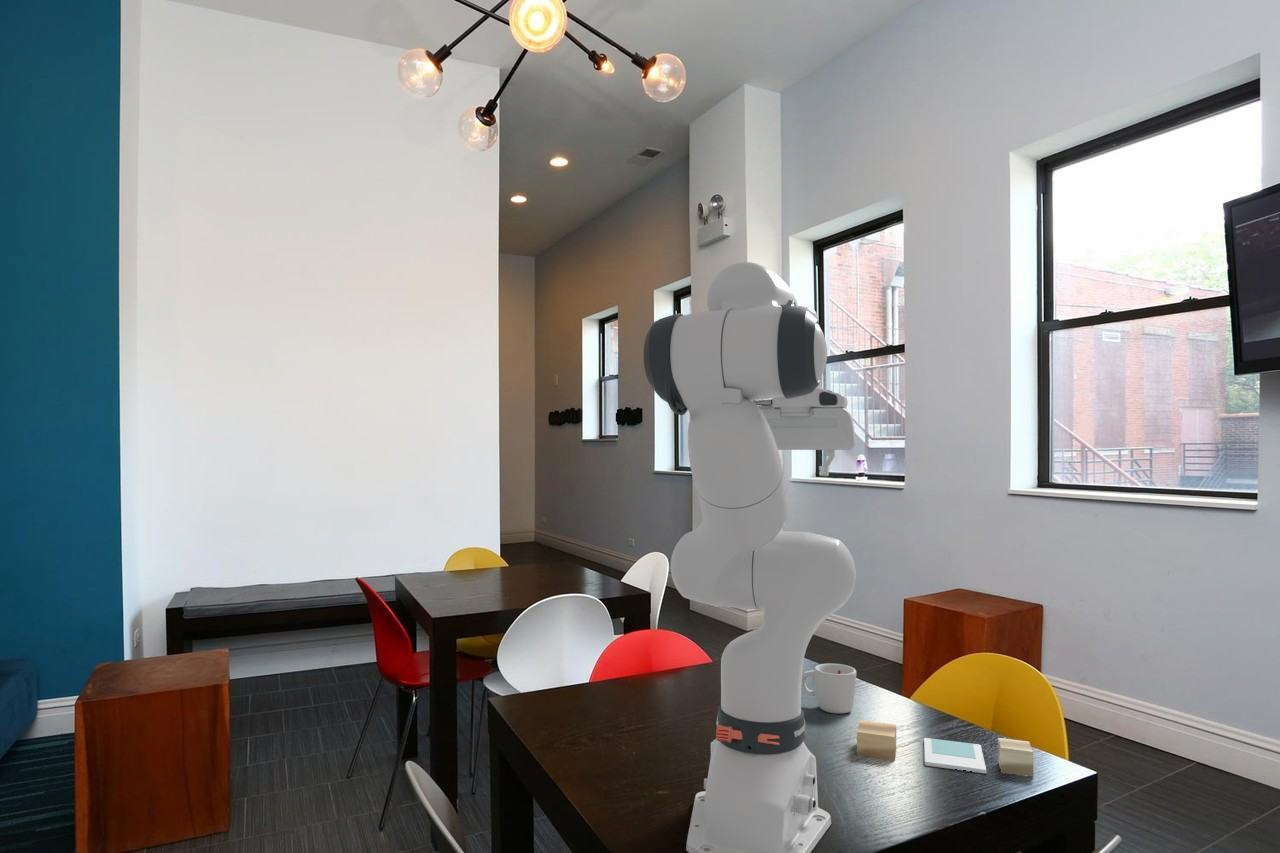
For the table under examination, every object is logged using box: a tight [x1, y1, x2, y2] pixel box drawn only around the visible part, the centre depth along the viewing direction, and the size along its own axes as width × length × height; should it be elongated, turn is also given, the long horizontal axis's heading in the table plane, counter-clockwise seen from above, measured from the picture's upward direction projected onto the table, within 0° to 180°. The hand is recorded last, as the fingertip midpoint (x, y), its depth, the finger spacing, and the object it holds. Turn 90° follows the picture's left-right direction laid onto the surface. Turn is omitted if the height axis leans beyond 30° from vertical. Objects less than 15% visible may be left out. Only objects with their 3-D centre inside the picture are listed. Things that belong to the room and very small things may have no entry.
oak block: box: [856, 719, 897, 761], centre depth 126 cm, size 6×6×4 cm
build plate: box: [923, 737, 987, 774], centre depth 123 cm, size 11×9×1 cm
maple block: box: [997, 737, 1034, 777], centre depth 119 cm, size 4×4×4 cm
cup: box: [801, 663, 857, 715], centre depth 147 cm, size 11×8×8 cm
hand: (797, 475), depth 134 cm, fingers open, 8 cm apart
